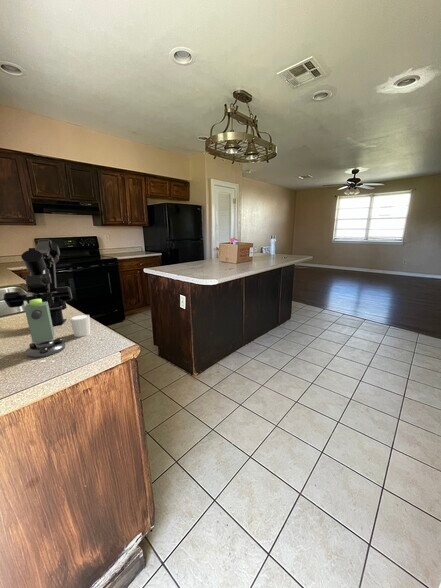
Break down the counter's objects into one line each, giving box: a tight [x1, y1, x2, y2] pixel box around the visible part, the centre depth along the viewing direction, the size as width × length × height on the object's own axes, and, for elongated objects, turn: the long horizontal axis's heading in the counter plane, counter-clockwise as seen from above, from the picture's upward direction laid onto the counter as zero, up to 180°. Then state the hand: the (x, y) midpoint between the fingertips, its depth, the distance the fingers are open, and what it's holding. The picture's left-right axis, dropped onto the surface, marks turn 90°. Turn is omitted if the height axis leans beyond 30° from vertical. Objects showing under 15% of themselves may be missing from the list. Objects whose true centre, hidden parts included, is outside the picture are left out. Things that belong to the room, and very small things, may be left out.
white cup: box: [69, 314, 91, 338], centre depth 96 cm, size 7×7×7 cm
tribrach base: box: [25, 337, 66, 359], centre depth 84 cm, size 11×11×3 cm
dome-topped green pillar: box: [24, 299, 55, 344], centre depth 80 cm, size 6×6×15 cm
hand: (40, 317), depth 83 cm, fingers closed, pressing on dome-topped green pillar
